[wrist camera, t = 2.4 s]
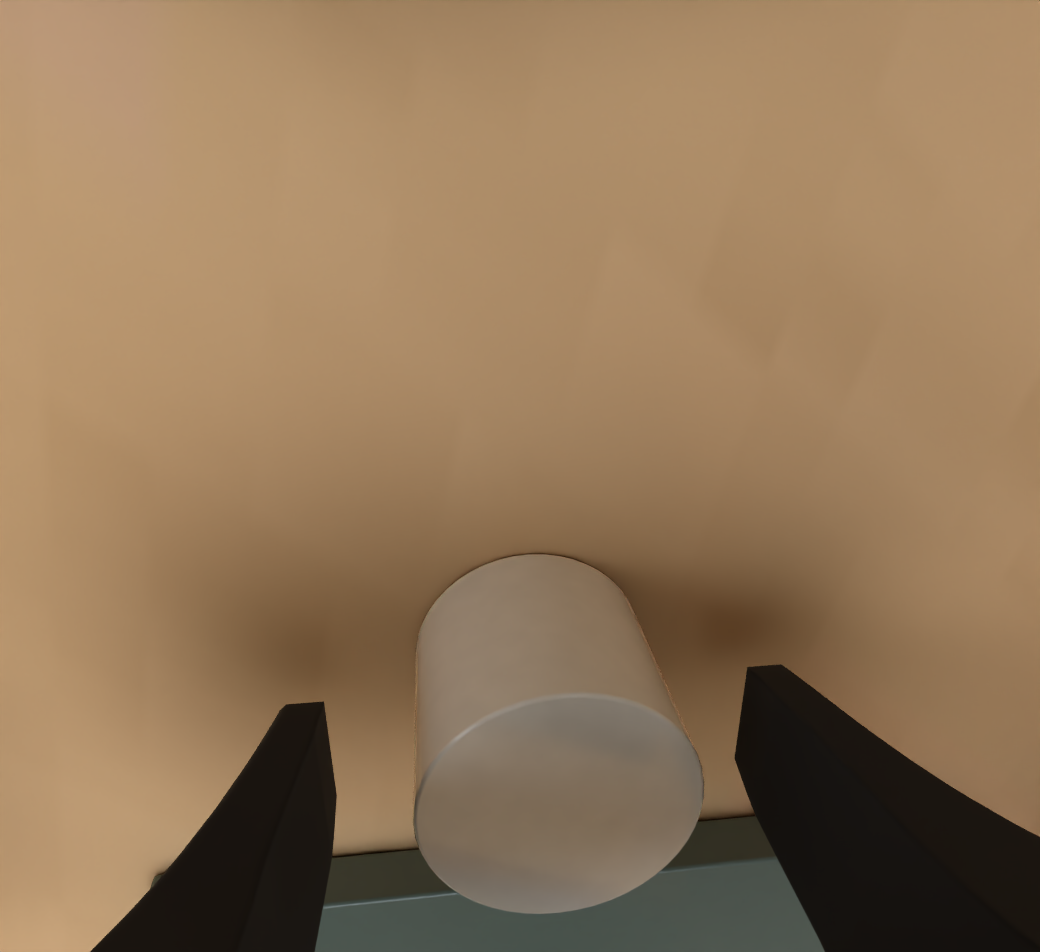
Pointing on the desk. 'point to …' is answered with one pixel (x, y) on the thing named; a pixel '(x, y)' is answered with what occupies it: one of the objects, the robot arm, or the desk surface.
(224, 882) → the robot arm
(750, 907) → the game board
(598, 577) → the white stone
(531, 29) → the desk surface
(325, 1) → the desk surface
